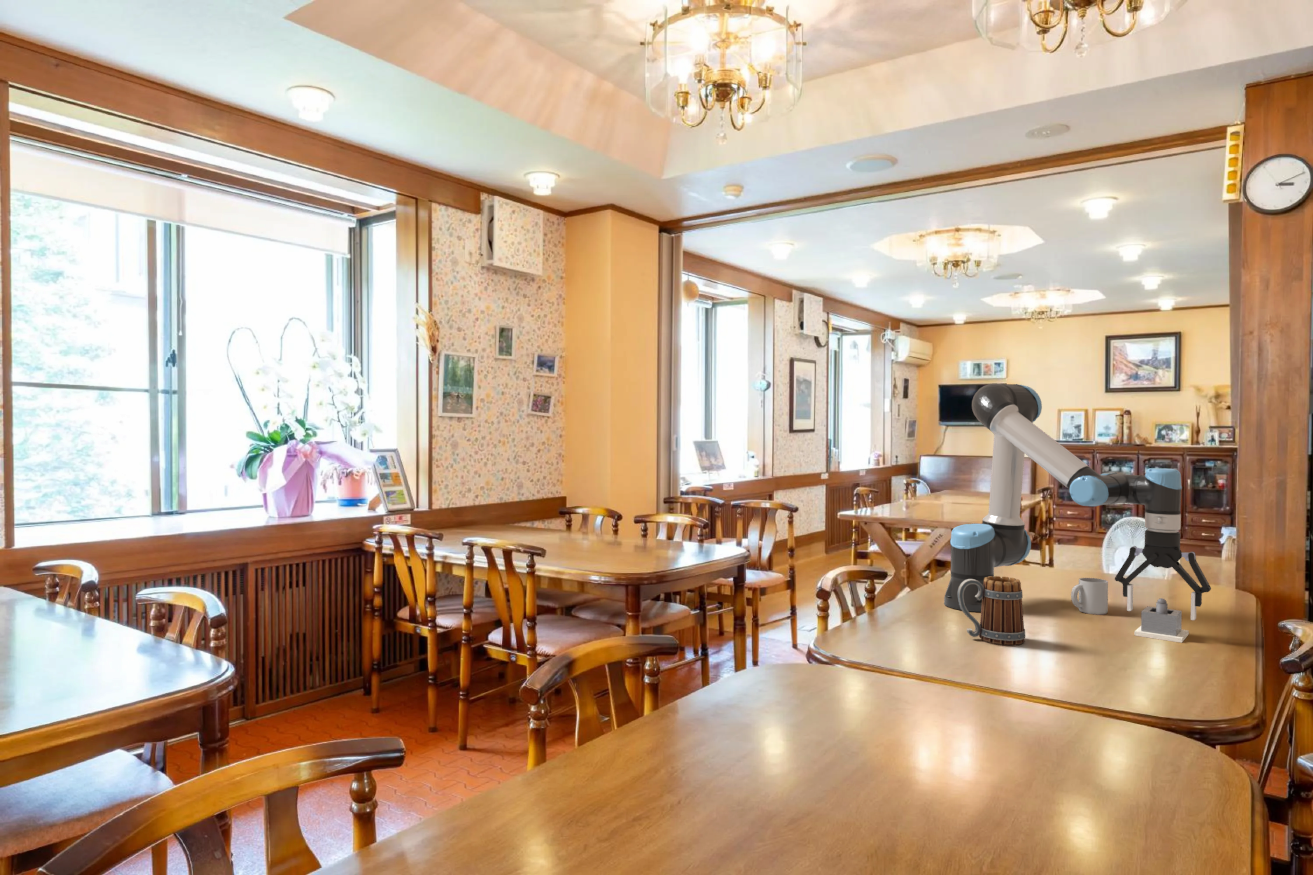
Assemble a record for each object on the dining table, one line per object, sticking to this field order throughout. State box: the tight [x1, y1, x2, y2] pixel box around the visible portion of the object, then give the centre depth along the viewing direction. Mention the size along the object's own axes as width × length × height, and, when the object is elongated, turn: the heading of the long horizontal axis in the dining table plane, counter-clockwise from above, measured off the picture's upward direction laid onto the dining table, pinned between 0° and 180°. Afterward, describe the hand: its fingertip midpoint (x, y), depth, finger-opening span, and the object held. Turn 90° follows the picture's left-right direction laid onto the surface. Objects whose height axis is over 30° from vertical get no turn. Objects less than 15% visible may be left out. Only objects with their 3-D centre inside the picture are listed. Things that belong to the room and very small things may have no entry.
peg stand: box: [1134, 597, 1190, 643], centre depth 198 cm, size 10×10×9 cm
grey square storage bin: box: [1140, 605, 1183, 636], centre depth 198 cm, size 7×7×5 cm
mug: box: [958, 575, 1026, 647], centre depth 194 cm, size 16×11×15 cm
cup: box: [1070, 577, 1109, 616], centre depth 223 cm, size 7×10×9 cm
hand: (1160, 614), depth 198 cm, fingers open, 13 cm apart
